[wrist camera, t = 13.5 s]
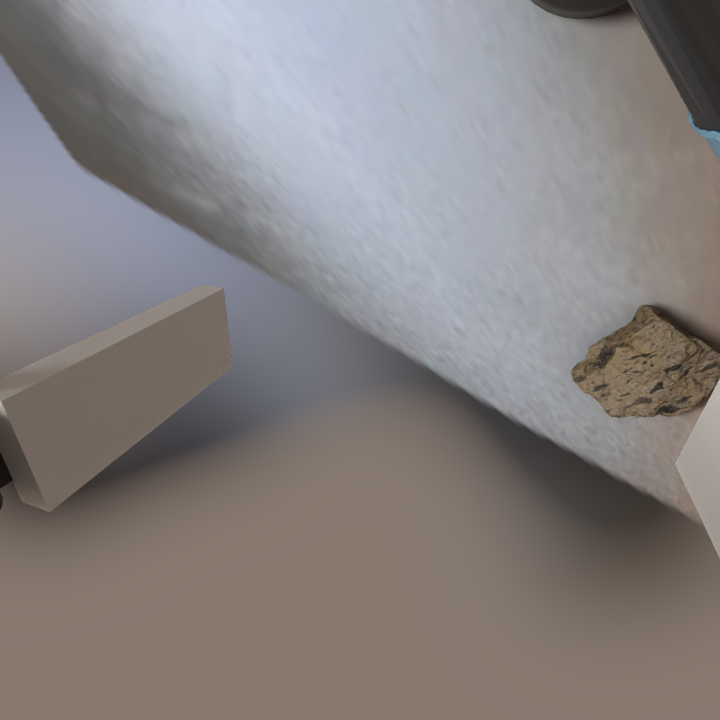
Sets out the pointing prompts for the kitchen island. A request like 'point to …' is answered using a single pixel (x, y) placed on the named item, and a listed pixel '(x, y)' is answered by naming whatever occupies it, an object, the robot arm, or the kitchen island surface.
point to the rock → (648, 368)
